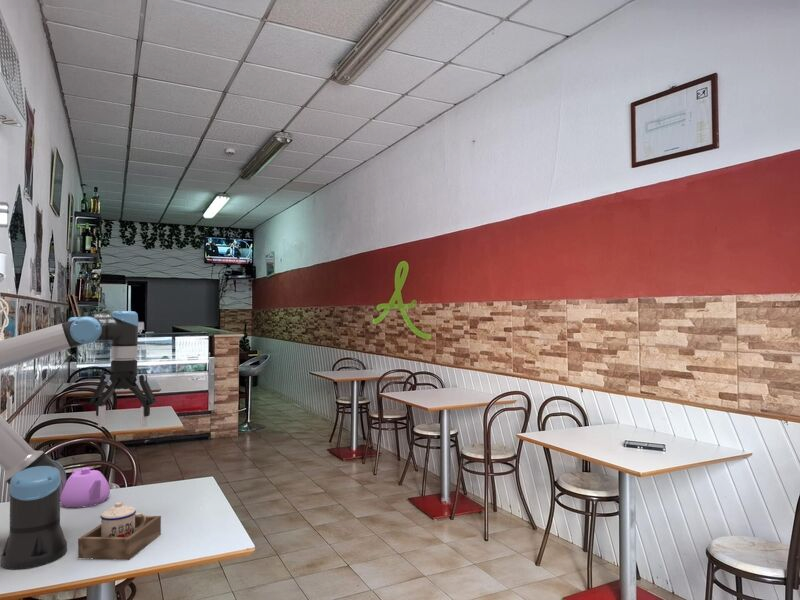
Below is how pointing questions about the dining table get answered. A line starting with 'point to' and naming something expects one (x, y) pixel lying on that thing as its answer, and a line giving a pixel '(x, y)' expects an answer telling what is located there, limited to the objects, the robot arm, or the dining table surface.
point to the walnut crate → (119, 541)
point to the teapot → (85, 488)
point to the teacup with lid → (120, 521)
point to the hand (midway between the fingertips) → (122, 426)
